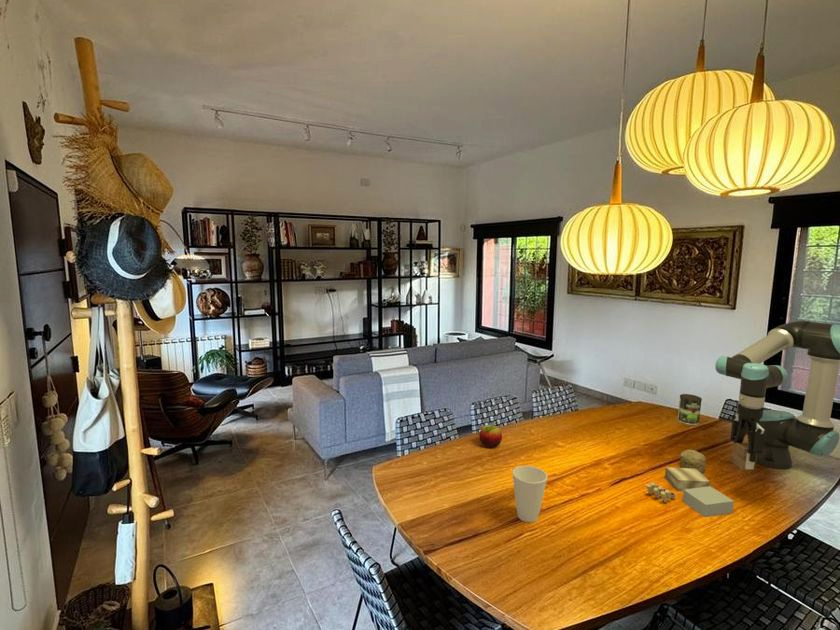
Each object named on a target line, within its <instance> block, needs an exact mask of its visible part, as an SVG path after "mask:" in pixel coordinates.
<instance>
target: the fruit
mask: <svg viewBox="0 0 840 630" xmlns="http://www.w3.org/2000/svg"><path fill="white" fill-rule="evenodd" d="M478 435H479V441H480V443H481V444H482V445H483V447H486V448H490V449H491V448H493V449H494V448H496V447H498V446H499V445H500V444H501V442H502V439H503V434H502V431H501V429H500V428H499V427H497V425H493V424H486V425H483V426H481V428H480V431H479V434H478Z"/></svg>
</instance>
